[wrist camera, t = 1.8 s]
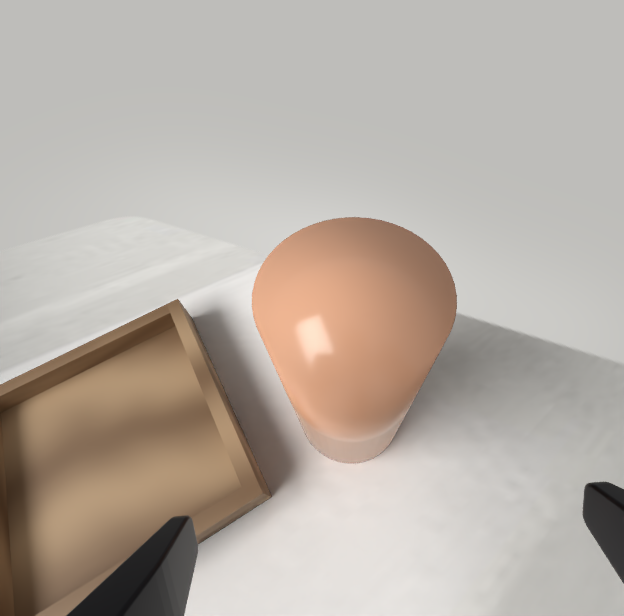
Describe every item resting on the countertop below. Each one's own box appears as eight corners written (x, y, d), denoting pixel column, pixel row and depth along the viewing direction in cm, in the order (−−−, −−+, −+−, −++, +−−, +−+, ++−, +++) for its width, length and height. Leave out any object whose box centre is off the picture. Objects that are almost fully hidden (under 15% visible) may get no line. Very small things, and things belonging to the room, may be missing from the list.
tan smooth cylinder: (419, 427, 21) (504, 315, 10) (332, 485, 19) (314, 432, 8) (361, 348, 24) (375, 193, 12) (283, 394, 22) (222, 267, 11)
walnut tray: (271, 496, 19) (262, 493, 17) (16, 661, 17) (-32, 680, 14) (191, 317, 26) (177, 298, 24) (0, 412, 23) (-35, 401, 21)
